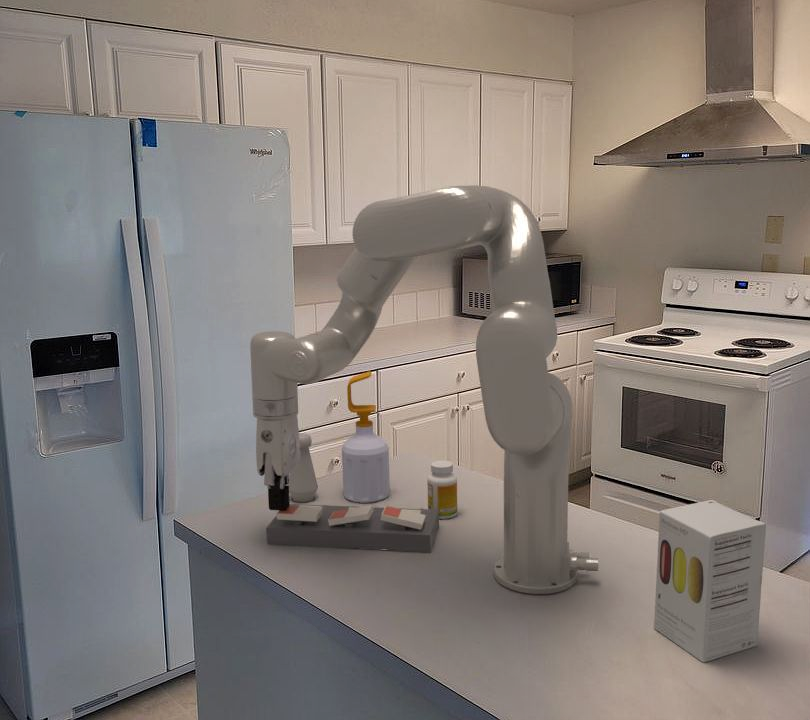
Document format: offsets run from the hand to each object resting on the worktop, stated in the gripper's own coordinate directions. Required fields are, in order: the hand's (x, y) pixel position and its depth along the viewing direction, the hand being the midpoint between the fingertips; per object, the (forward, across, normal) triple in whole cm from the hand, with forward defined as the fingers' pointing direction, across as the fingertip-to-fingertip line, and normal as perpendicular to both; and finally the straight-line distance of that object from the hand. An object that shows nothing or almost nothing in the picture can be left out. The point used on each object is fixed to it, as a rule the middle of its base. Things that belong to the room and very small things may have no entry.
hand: (279, 508), depth 140 cm
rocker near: (0, 0, -22) cm, 22 cm away
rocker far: (+1, 0, -4) cm, 4 cm away
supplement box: (+4, -25, -66) cm, 70 cm away
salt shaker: (+6, +18, +1) cm, 19 cm away
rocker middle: (0, 0, -13) cm, 13 cm away
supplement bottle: (+5, +13, -27) cm, 30 cm away
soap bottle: (+5, +21, -11) cm, 24 cm away
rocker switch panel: (+5, +2, -13) cm, 14 cm away
